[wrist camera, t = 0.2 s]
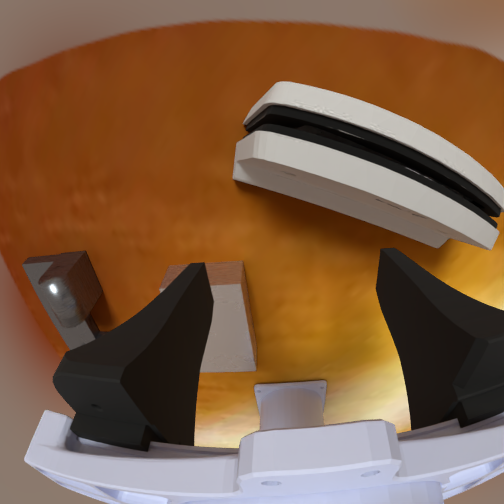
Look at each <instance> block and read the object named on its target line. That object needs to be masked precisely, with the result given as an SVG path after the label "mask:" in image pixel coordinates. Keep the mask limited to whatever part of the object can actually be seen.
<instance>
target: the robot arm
mask: <svg viewBox="0 0 504 504" xmlns="http://www.w3.org/2000/svg"><path fill="white" fill-rule="evenodd" d="M376 292H377V296H378V300H379V303H380V307H381V310H382V313H383V315H384V318H385V320H386V323H387V325H388V328H389V330H390V333H391V335H392V338H393V341H394V343H395V346H396V348H397V351H398V354H399V358H400V361H401V366H402V370H403V375H404V379H405V385H406V390H407V396H408V403H409V411H410V420H411V431H407V432H403V433H398V434H396V429H395V425H394V424H392V423H389V422H387V421H384V420H381V419H377V420H361V421H354V422H347V423H338V424H329V425H324V419H323V412H324V404H325V396H326V388H327V382H326V381H325V380H319V381H307V382H293V383H274V384H256V385H255V386H254V391H255V396H256V400H257V405H258V410H259V414H260V431H255V432H253V433H251V434H249V435H247V436H245V437H243V438H242V439H241V441H240V445H239V448H215V447H199V446H194V432H195V414H196V402H197V391H198V382H199V374H200V368H201V363H202V359H203V355H204V351H205V347H206V343H207V340H208V335H209V331H210V327H211V323H212V316H213V307H214V299H213V295H212V291H211V287H210V283H209V278H208V274H207V270H206V266H205V262H203V263H190V264H189V265H188V266H187V267H186V268H185V269H184V270H183V271H182V272H181V273H180V274H179V275H178V276H177V277H176V278H175V279H174V280H173V281H172V282H171V283H170V284H169V285H168V286H167V287H166V289H165V290H163V291H162V292H161V293H160V294H159V295H158V296H157V297H156V298H155V299H154V300H153V301H152V302H150V303H149V304H148V305H147V306H146V307H145V308H143V309H142V310H141V311H140V312H138V313H137V314H136V315H134V316H133V317H132V318H130V319H129V320H128V321H126V322H124V323H123V324H121V325H120V326H118V327H117V328H115V329H114V330H112V331H110V332H108V333H107V334H105V335H103V336H101V337H99V338H97V339H95V340H93V341H91V342H89V343H87V344H84V345H82V346H80V347H77V348H75V349H72V350H70V351H67V352H66V353H65V355H64V357H63V359H62V360H61V362H60V364H59V366H58V368H57V370H56V372H55V374H54V376H53V383H54V386H55V388H56V389H57V391H58V393H59V394H60V395H61V396H62V397H63V399H64V400H65V401H66V402H67V403H68V404H69V405H70V406H71V407H72V408H73V410H74V411H75V412H76V414H75V417H74V419H72V418H71V417H69V416H66V415H64V414H61V413H57V412H53V411H50V410H45V411H44V414H43V416H42V418H41V420H40V423H39V425H38V427H37V429H36V432H35V434H34V436H33V439H32V441H31V443H30V446H29V448H28V451H27V453H26V456H25V458H24V460H25V462H26V463H28V464H29V465H31V466H32V467H33V468H35V469H36V470H38V471H39V472H41V473H42V474H44V475H45V476H47V477H48V478H50V479H51V480H53V481H55V482H56V483H58V484H59V485H61V486H63V487H65V488H68V489H70V490H73V491H75V492H78V493H81V494H83V495H86V496H89V497H91V498H94V499H97V500H100V501H103V502H105V503H109V504H444V499H447V498H449V497H452V496H454V495H457V494H459V493H461V492H464V491H466V490H468V489H471V488H473V487H475V486H477V485H479V484H481V483H483V482H485V481H487V480H489V479H491V478H493V477H495V476H497V475H499V474H501V473H503V472H504V311H503V310H500V309H497V308H495V307H492V306H489V305H487V304H484V303H482V302H480V301H477V300H475V299H473V298H471V297H469V296H467V295H465V294H463V293H461V292H459V291H457V290H456V289H454V288H452V287H450V286H449V285H447V284H445V283H444V282H442V281H441V280H439V279H438V278H436V277H435V276H433V275H432V274H430V273H429V272H427V271H426V270H425V269H423V268H422V267H421V266H419V265H418V264H416V263H415V262H414V261H412V260H411V259H410V258H408V257H407V256H406V255H404V254H403V253H401V252H400V251H399V250H397V249H395V248H385V249H381V250H380V259H379V268H378V276H377V283H376Z"/></svg>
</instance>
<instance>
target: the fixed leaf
mask: <svg viewBox="0 0 504 504" xmlns="http://www.w3.org/2000/svg"><path fill="white" fill-rule="evenodd" d="M22 266H23V268H24V270H25V272H26V274H27V276H28V278H29V280H30V282H31V284H32V286H33V288H34V289H35V291H36V293H37V295H38V297H39V299H40V301H41V302H42V304H43V306H44V308H45V309H46V311H47V313H48V315H49V316H50V318H51V320H52V321H53V323H54V325H55V326H56V328H57V330H58V331H59V333H60V335H61V336H62V338H63V339H64V341H65V342H66V344H67V345H68V347H69V348H70V350H72V349H75V348H77V347H80V346H82V345H84V344H87V343H89V342H91V341H93V340H95V339H97V338H99V337H101V336H103V335H105V334H107V333H108V332H102V331H99V329H98V327H97V326H96V324H95V322H94V320H93V318H92V316H91V314H90V311H91V310H92V308H93V306H94V305H95V303H96V301H97V300H98V298H99V297H100V295H101V293H102V292H103V290H102V288H101V286H100V284H99V281H98V279H97V277H96V274H95V272H94V270H93V267H92V265H91V263H90V260H89V258H88V255H87V253H86V251H79V252H69V253H61V254H59V255H50V256H40V257H31V258H28V259H27V260H26V261H25V262H24V263H23V264H22Z"/></svg>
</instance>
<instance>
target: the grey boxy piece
mask: <svg viewBox="0 0 504 504" xmlns="http://www.w3.org/2000/svg"><path fill="white" fill-rule="evenodd" d="M188 265H189V264H186V265H172V266H169V267H168V270H167V272H166V274H165V277H164V279H163V281H162V284H161V286H160V288H159V289H160V292H162V291H163V290H165V289H166V287H167V286H168V285H169V284H170V283H171V282H172V281H173V280H174V279H175V278H176V277H177V276H178V275H179V274H180V273H181V272H182V271H183V270H184V269H185V268H186V267H187V266H188ZM205 266H206V270H207V274H208V278H209V283H210V287H211V291H212V295H213V299H214V307H213V316H212V323H211V327H210V331H209V335H208V340H207V343H206V347H205V351H204V355H203V359H202V363H201V368H200V372H243V371H256V364H257V344H256V338H255V332H254V326H253V320H252V314H251V308H250V301H249V295H248V289H247V283H246V277H245V270H244V264H243V261H230V262H216V263H205Z"/></svg>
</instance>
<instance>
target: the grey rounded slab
mask: <svg viewBox="0 0 504 504" xmlns="http://www.w3.org/2000/svg"><path fill="white" fill-rule="evenodd" d="M243 124H245V125H247V127H246V131H249V132H251V133H249V134H248V135H246V136H245V137H243V139H242V140H241V141H239V142H238V143H237V144H236V153H235V162H234V171H233V179H234V180H238V181H241V182H245V183H248V184H251V185H255V186H258V187H262V188H265V189H268V190H272V191H275V192H278V193H281V194H285V195H288V196H291V197H294V198H297V199H301V200H304V201H307V202H310V203H313V204H316V205H319V206H322V207H325V208H328V209H331V210H334V211H337V212H340V213H343V214H346V215H349V216H351V217H354V218H357V219H360V220H363V221H366V222H368V223H371V224H374V225H377V226H379V227H382V228H385V229H388V230H390V231H393V232H396V233H398V234H401V235H404V236H406V237H409V238H411V239H414V240H417V241H419V242H422V243H424V244H427V245H429V246H432V247H434V248H439V247H440V246H441V245H443V244H444V243H445V242H446V241H447V240H448V239H449V238H452V239H455V240H458V241H462V242H465V243H468V244H471V245H474V246H477V247H481V248H484V249H487V250H491V249H492V247H493V245H494V243H495V241H496V239H497V237H498V235H499V231H498V230H497V229H496V228H497V223H496V222H495V221H494V220H493V219H492V218H491V217H499V216H500V212H504V188H503V187H502V185H501V184H500V183H499V182H498V181H497V180H496V179H495V178H494V177H493V176H492V175H491V174H490V173H489V172H488V171H487V170H486V169H485V168H484V167H482V166H481V165H480V164H479V163H478V162H476V161H475V160H474V159H473V158H472V157H470V156H469V155H468V154H466V153H465V152H463V151H462V150H460V149H459V148H457V147H456V146H454V145H453V144H451V143H450V142H448V141H446V140H445V139H443V138H442V137H440V136H438V135H437V134H435V133H433V132H431V131H429V130H427V129H426V128H424V127H422V126H420V125H418V124H416V123H414V122H412V121H410V120H408V119H405V118H403V117H401V116H399V115H396V114H394V113H392V112H389V111H387V110H385V109H382V108H380V107H377V106H375V105H372V104H369V103H367V102H364V101H361V100H358V99H355V98H352V97H349V96H346V95H342V94H339V93H335V92H332V91H328V90H324V89H320V88H316V87H312V86H307V85H303V84H298V83H293V82H277V83H276V84H275V85H274V86H273V87H272V88H271V89H270V90H269V91H268V92H267V93H266V94H265V95H264V96H263V97H262V98H261V99H260V100H259V101H258V102H257V103H256V104H255V105H254V106H253V107H252V109H251V110H250V112H249V114H248V115H247V117H246V119H245V120H244V122H243ZM489 216H491V217H489Z"/></svg>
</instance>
